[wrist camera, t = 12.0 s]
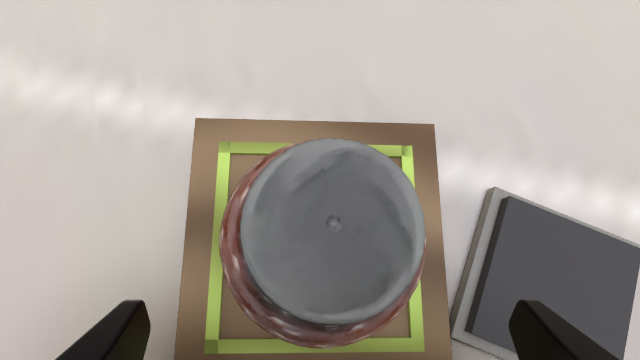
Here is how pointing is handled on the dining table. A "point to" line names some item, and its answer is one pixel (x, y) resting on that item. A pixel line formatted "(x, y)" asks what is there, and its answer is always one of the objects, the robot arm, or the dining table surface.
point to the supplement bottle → (323, 242)
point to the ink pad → (543, 275)
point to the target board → (205, 263)
